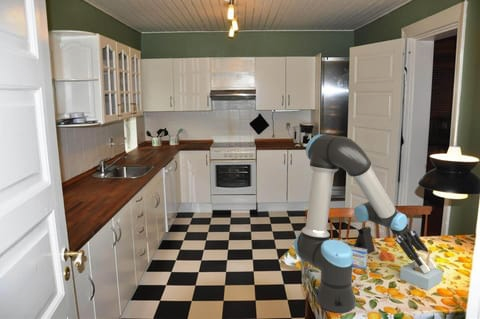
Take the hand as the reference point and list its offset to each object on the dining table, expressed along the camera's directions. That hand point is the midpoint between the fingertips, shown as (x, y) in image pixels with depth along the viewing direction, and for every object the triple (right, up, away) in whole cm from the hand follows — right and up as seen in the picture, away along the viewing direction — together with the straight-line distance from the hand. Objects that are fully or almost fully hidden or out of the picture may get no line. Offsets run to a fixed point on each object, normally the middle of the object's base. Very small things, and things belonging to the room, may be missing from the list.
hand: (430, 270), depth 149 cm
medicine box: (-25, -4, +18) cm, 31 cm away
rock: (-8, -3, +25) cm, 26 cm away
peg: (-2, -5, +4) cm, 7 cm away
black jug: (-15, -1, +36) cm, 39 cm away
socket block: (-2, -6, +4) cm, 7 cm away
